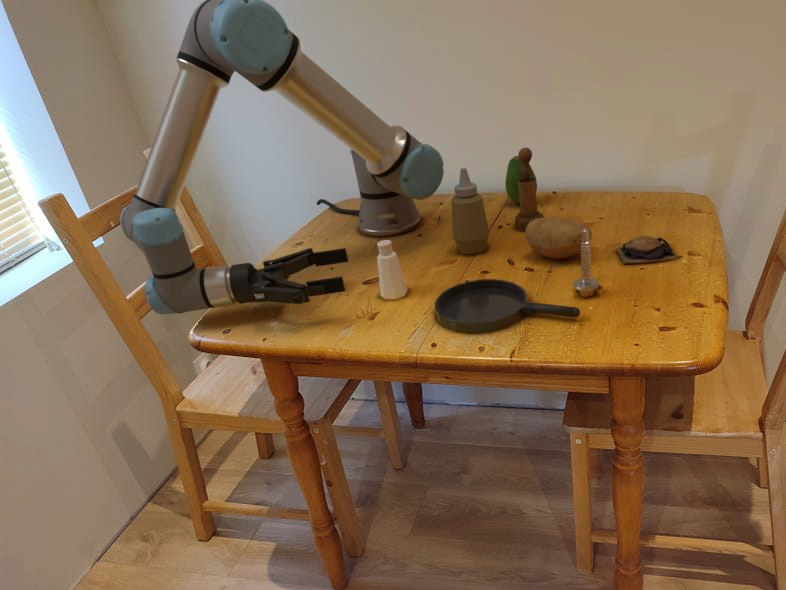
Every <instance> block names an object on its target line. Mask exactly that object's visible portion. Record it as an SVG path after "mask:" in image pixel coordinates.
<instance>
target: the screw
mask: <svg viewBox="0 0 786 590" xmlns="http://www.w3.org/2000/svg"><path fill="white" fill-rule="evenodd" d="M591 243H592V242H591V241H590V240H589V229H586V228H585V229H583V230H582V242H581V244H582V245H581V252H580V253H581V254H580V256H581V257H580V259H581V260H580V262H581V263H580V265H581V266H580V271H581V272H580V276H581V277H579V278H577V279H575V281H574V282H572V288H573V289H575V290H576V291H579V296H580V297H584V298H588V297H591V296H594V291H596V290H598V288H599V287H600V281H599V279H597V278H594V277H592V252H591V251H592V246H591V245H592V244H591Z"/></svg>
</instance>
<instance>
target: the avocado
mask: <svg viewBox="0 0 786 590" xmlns="http://www.w3.org/2000/svg"><path fill="white" fill-rule="evenodd" d="M522 167H523V164H522V162H521V160H520V159H519V156H518V155H514V156H513V157H512V158H510V160H509V161H508V164H507V169H506V175H505V191H506V193H507V196H508V198H509V199H510V200H511V201H512V202H514V203H515V204H519V205H520V199H519V187H518V180H519V179H520V178H523V176H522V173H521V168H522ZM529 167H530V168H531V174H530V177H534V178H535V180H536V191H537V189H538V182H537V176H536V175H535V172H534V169H533V168H532V166H531V164H530V163H529Z"/></svg>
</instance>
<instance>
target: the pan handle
mask: <svg viewBox="0 0 786 590" xmlns="http://www.w3.org/2000/svg"><path fill="white" fill-rule="evenodd" d="M522 306H523V307H522V312H523V313H524V314H525V315H533V314H539V315H548V316H556V317H557V316H558V317H566V318H572V319H573V318H574V319H576V318H579V316H580V315H581V309H580V308H579V307H576V306H568V305H557V304H550V303H541V302H533V301H528V302H524V303H523V304H522Z"/></svg>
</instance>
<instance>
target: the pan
mask: <svg viewBox="0 0 786 590" xmlns="http://www.w3.org/2000/svg"><path fill="white" fill-rule="evenodd" d="M524 302H529V297H528V293H527V291H526V289H524V288H523V287H522V286H521V285H519V284H518V283H515V282H513V281H508V280H505V279H497V278H485V279H484V278H482V279H476V280H475V279H474V280H468V281H464V282H461V283H458V284H456V285H454V286H451V287H449V288H447V289H445V290H444V291H442V293H440V294H439V295H438V296H437V298H436V300H435V302H434V311H435V315H436V319H437V321H438V322H439V324H440V325H442V326H443V327H445V328H446V329H450V330H452V331H454V332H459V333H467V334H482V333H483V334H484V333H489V332H495V331H499V330H502V329H506V328H508V327H511V326H512V325H514V324H516V323H517V322H519V321H520V320H522V319H523V318H524V316H526V314H524V313H523V312H522V307H523V306H522V304H523V303H524Z"/></svg>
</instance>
